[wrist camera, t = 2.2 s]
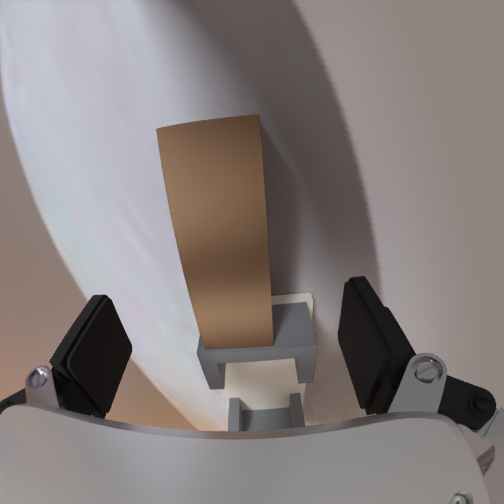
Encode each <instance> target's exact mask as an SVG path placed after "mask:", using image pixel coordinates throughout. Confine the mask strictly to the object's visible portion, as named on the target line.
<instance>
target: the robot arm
mask: <svg viewBox="0 0 504 504" xmlns="http://www.w3.org/2000/svg"><path fill="white" fill-rule="evenodd" d="M338 341H339V344H340V347H341V350H342V353H343V356H344V359H345V362H346V365H347V368H348V371H349V374H350V377H351V380H352V383H353V386H354V390H355V393H356V396H357V399H358V402H359V406H360V408H361V409H364V408H365V411H366V414H367V415H371V414H375V413H376V415H373V416H368V417H362V418H356V419H351V420H346V421H340V422H334V423H328V424H321V425H314V426H306V427H298V428H288V429H277V430H263V431H190V430H177V429H166V428H157V427H149V426H142V425H134V424H128V423H122V422H117V421H111V420H107V419H105V416H106V413H108V412H109V411H110V408H111V406H112V403H113V400H114V397H115V394H116V392H117V389H118V386H119V384H120V381H121V378H122V375H123V373H124V371H125V368H126V365H127V362H128V360H129V358H130V355H131V353H132V344H131V342H130V340H129V338H128V336H127V334H126V332H125V330H124V327H123V325H122V323H121V321H120V318H119V316H118V314H117V312H116V309H115V307H114V304H113V302H112V300H111V299H110V298H108V296H107V295H93V296H92V298H91V299H90V300H89V302H88V303H87V305H86V306H85V308H84V309H83V310H82V312H81V313H80V315H79V316H78V317H77V319H76V320H75V322H74V324H73V325H72V326H71V328H70V329H69V331H68V333H67V334H66V336H65V337H64V339H63V340H62V342H61V343H60V345H59V346H58V348H57V350H56V351H55V353H54V355H53V356H52V358H51V359H50V361H49V362H50V363H51V365H52V366H53V367H52V369H50V368H49V367H48V366H45V365H40V366H37V367H35V368H34V369H32V370H31V371H30V372H29V374H28V375H27V377H26V379H25V388H24V389H22V390H21V391H19V392H17V393H15V394H13V395H11V396H9V397H8V398H6V399H4V400H2V401H1V402H0V504H502V503H503V502H504V409H503V408H502V407H501V408H500V409H499V410H498V409H497V408H496V402H495V399H494V397H493V395H492V394H491V393H490V392H489V391H487V390H486V389H483V388H481V387H478V386H475V385H472V384H470V383H467V382H464V381H461V380H458V379H456V378H453V377H451V376H448V375H447V368H446V365H445V364H444V362H443V361H442V360H441V359H440V358H439V357H437V356H435V355H433V354H429V353H420V354H417V355H416V353H415V352H414V350H413V348H412V347H411V345H410V343H409V341H408V339H407V338H406V336H405V334H404V332H403V331H402V329H401V328H400V326H399V324H398V322H397V321H396V319H395V318H394V316H393V314H392V313H391V311H390V310H389V308H388V307H384V306H383V304H382V302H381V301H380V299H379V298H378V296H377V294H376V293H375V291H374V290H373V288H372V287H371V285H370V284H369V282H368V280H367V279H366V278H365V276H361V277H352V278H350V279H349V282H345V284H344V292H343V301H342V309H341V316H340V323H339V330H338ZM91 415H93V416H94V417H93V416H91Z"/></svg>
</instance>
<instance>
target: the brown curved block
mask: <svg viewBox="0 0 504 504" xmlns="http://www.w3.org/2000/svg"><path fill="white" fill-rule="evenodd" d="M156 131H157V138H158V145H159V152H160V158H161V164H162V171H163V176H164V182H165V188H166V193H167V199H168V204H169V209H170V214H171V219H172V224H173V228H174V233H175V238H176V242H177V247H178V251H179V255H180V260H181V264H182V268H183V272H184V276H185V280H186V284H187V288H188V292H189V296H190V300H191V303H192V307H193V311H194V314H195V318H196V322H197V325H198V328H199V332H200V335H201V339H202V342H203V345H204V349H233V348H251V347H265V346H273V325H272V303H271V283H270V265H269V247H268V230H267V214H266V198H265V184H264V169H263V155H262V142H261V129H260V117H259V115H247V116H236V117H226V118H217V119H209V120H202V121H195V122H188V123H182V124H177V125H172V126H167V127H162V128H158V129H156Z"/></svg>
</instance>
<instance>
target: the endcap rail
mask: <svg viewBox="0 0 504 504" xmlns="http://www.w3.org/2000/svg"><path fill="white" fill-rule="evenodd" d="M271 303H272V325H273V346H265V347H251V348H233V349H204V345H203V342H202V339H201V335H200V337H199V343H198V350H197V355H198V358H199V361H200V364H201V366H202V369H203V372H204V375H205V377H206V380H207V382H208V385H209V388H210V389H221V390H222V393H223V396H224V399H225V402H226V404H227V407H228V410H229V417H228V431H263V430H277V429H288V428H298V427H305V422H304V415H303V404H304V396H305V388H306V383H309V382H313V377H314V370H315V363H316V356H317V348H318V343H317V339H316V336H315V332H314V328H313V324H312V315H313V298H312V295H311V292H306V293H297V294H286V295H275V296H271Z"/></svg>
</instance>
